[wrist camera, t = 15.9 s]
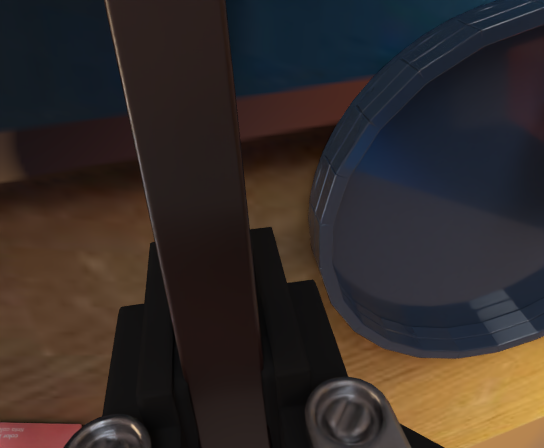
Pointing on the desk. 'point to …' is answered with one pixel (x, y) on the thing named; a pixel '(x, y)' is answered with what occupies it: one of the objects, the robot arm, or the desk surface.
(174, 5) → the dark brown long bar
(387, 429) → the robot arm
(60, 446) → the ink cartridge box
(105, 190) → the desk surface
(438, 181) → the dark blue round tray
